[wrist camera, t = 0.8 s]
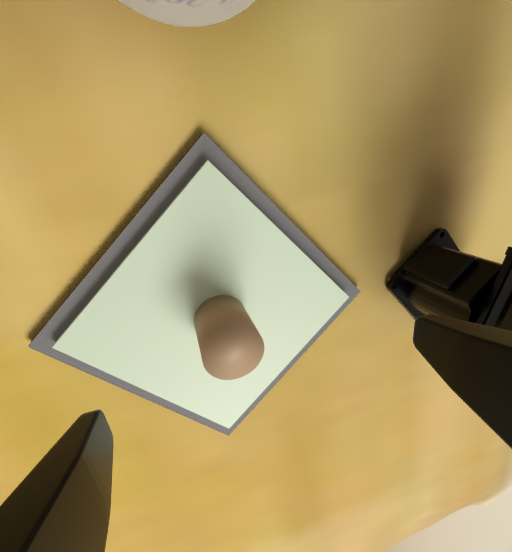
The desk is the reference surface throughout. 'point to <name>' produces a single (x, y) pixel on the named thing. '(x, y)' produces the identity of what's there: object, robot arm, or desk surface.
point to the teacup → (188, 10)
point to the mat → (138, 229)
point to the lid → (205, 304)
